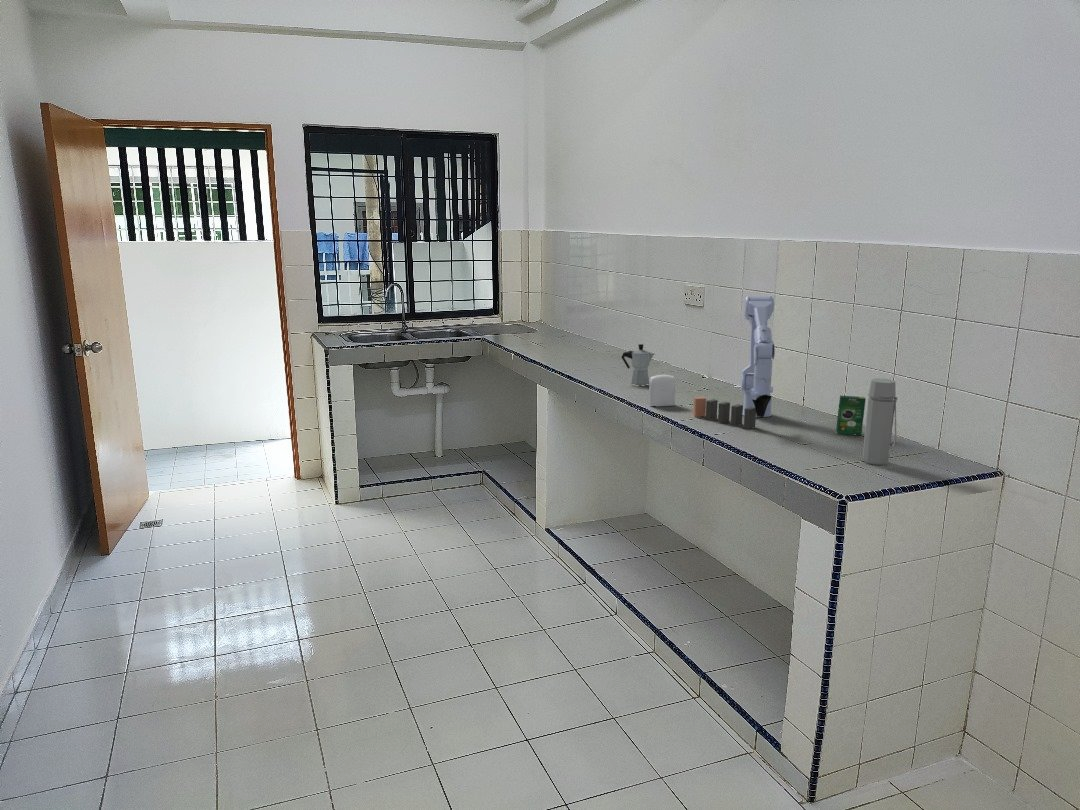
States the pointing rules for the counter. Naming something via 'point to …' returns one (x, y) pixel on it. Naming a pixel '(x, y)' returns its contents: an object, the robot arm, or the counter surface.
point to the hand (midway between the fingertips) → (760, 416)
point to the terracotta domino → (699, 406)
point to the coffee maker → (639, 365)
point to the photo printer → (662, 390)
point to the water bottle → (879, 421)
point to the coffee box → (850, 415)
